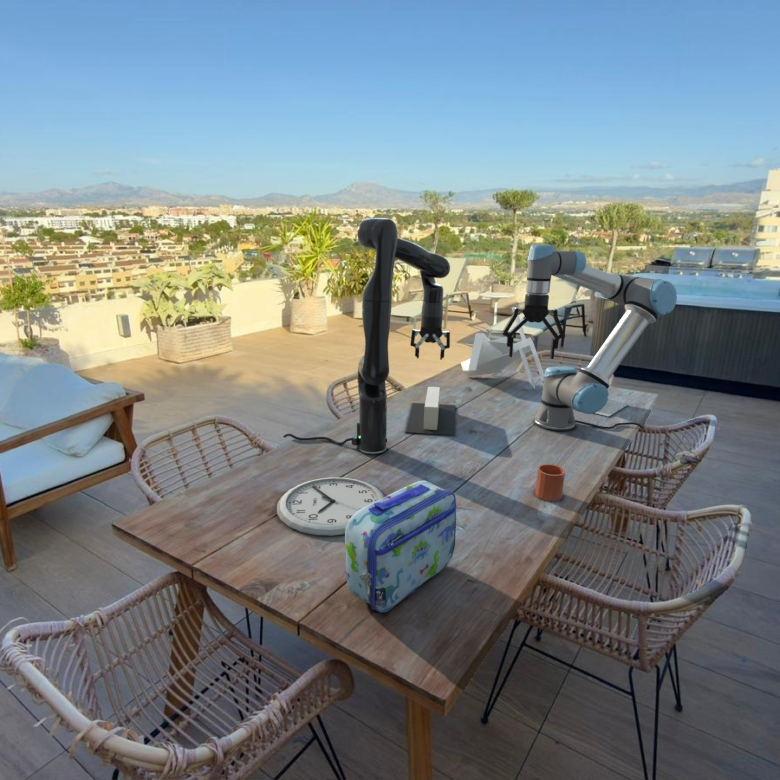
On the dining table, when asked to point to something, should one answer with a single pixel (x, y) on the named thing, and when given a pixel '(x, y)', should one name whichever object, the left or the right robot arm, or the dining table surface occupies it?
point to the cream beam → (431, 408)
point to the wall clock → (325, 504)
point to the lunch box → (399, 543)
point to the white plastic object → (499, 355)
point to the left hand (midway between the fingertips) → (429, 358)
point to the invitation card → (610, 408)
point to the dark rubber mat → (444, 420)
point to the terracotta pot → (550, 482)
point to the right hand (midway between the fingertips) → (530, 357)
